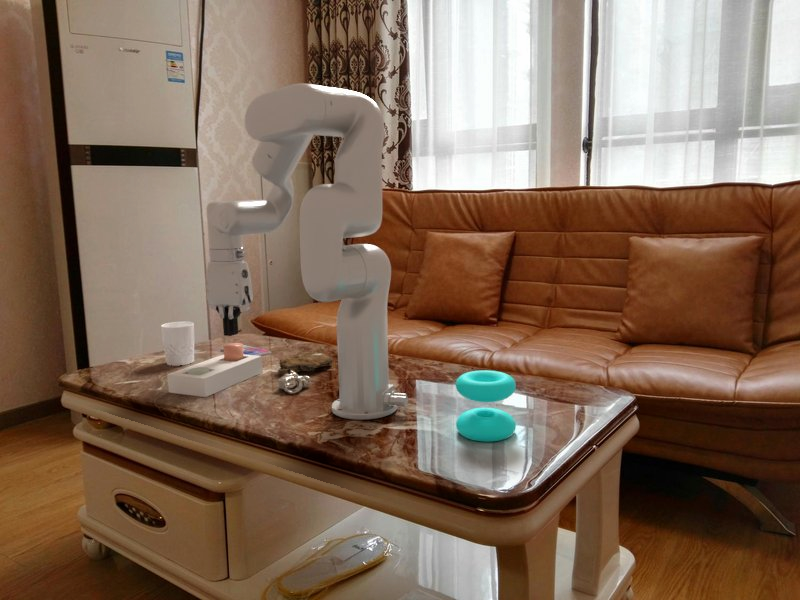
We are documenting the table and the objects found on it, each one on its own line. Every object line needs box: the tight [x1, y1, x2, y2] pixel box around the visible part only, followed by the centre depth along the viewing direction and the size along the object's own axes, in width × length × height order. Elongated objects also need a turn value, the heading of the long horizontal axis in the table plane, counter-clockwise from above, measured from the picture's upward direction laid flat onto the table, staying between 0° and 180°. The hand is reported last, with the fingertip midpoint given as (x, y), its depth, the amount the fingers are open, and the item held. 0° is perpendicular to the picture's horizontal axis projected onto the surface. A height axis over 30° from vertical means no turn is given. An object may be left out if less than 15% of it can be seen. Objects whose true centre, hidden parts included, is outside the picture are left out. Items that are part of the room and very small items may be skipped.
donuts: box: [455, 369, 517, 443], centre depth 106 cm, size 10×10×10 cm
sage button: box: [188, 367, 209, 376], centre depth 135 cm, size 4×4×4 cm
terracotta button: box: [222, 342, 244, 362], centre depth 146 cm, size 4×4×4 cm
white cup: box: [160, 320, 195, 367], centre depth 159 cm, size 8×8×10 cm
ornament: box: [277, 370, 311, 395], centre depth 134 cm, size 8×7×4 cm
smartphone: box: [220, 344, 272, 357], centre depth 169 cm, size 7×1×15 cm
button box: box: [166, 353, 264, 398], centre depth 141 cm, size 10×20×4 cm, turn 157°
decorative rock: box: [277, 351, 334, 376], centre depth 150 cm, size 11×4×15 cm
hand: (231, 334), depth 145 cm, fingers closed
